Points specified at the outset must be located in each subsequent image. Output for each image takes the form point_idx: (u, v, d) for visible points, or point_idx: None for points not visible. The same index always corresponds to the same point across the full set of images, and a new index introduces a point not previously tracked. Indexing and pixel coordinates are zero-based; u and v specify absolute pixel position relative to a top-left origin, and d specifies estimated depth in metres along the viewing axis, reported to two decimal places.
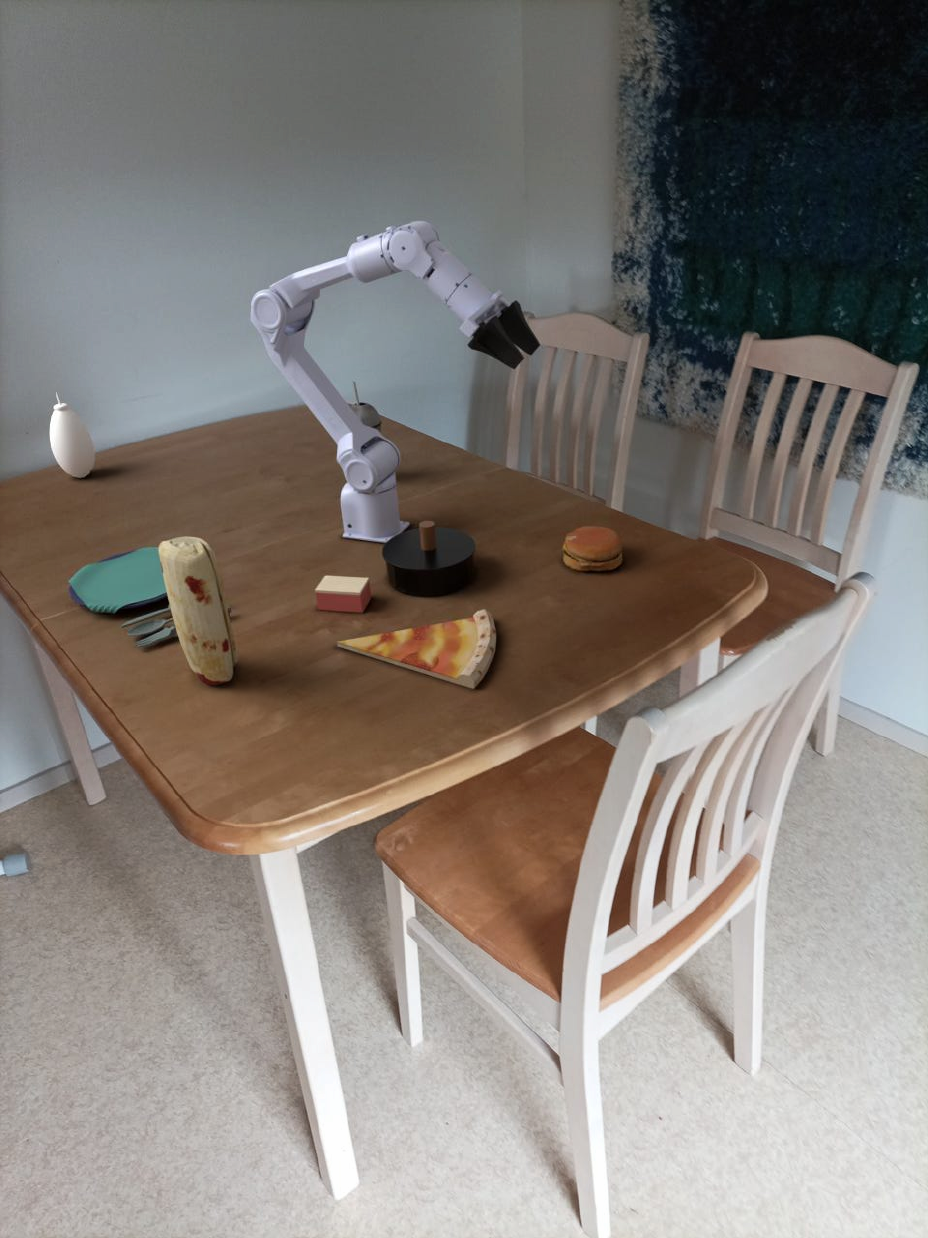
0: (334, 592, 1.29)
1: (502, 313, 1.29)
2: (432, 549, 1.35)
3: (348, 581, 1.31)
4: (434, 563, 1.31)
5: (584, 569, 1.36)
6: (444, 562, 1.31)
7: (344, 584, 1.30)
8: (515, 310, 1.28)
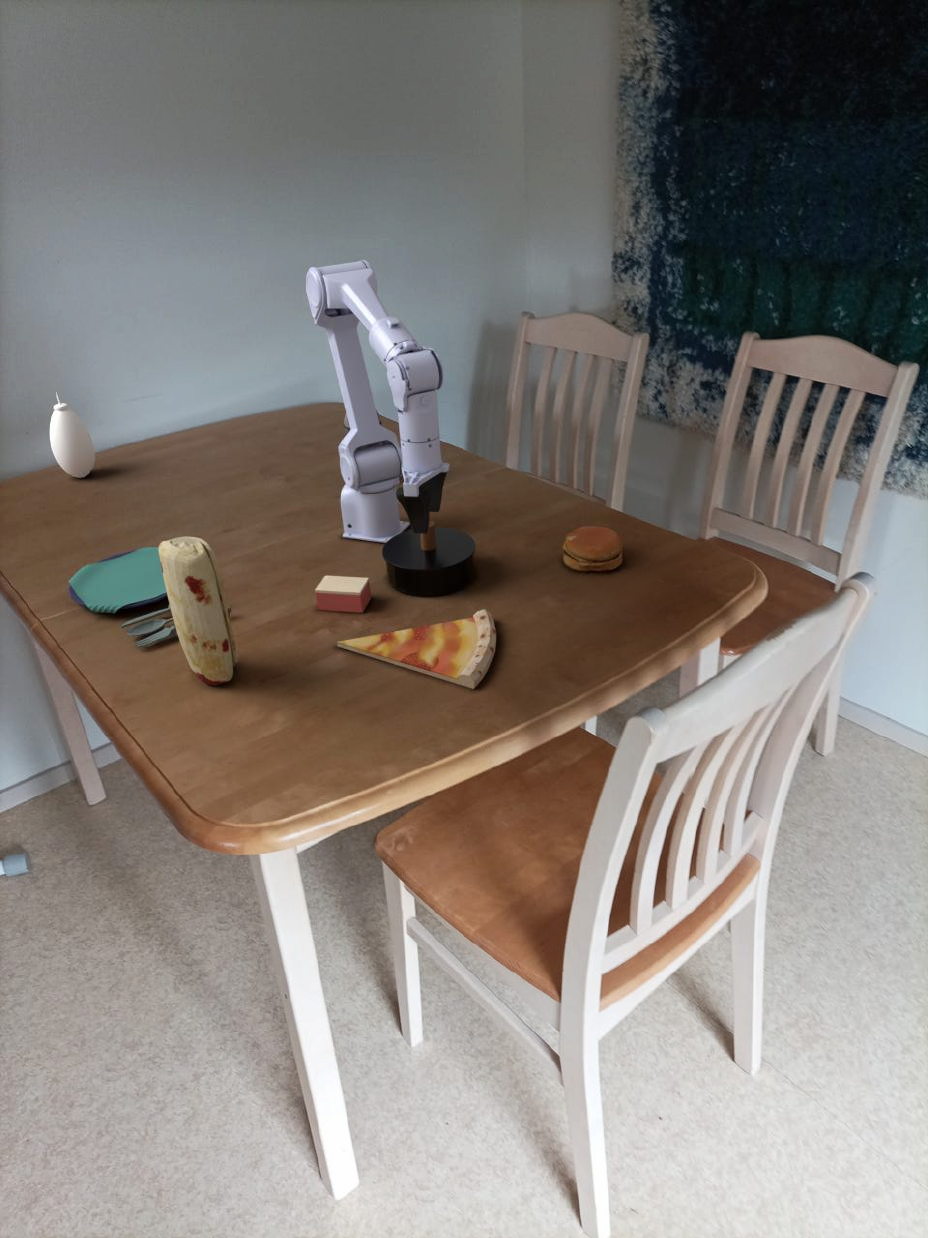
0: (334, 592, 1.29)
1: None
2: (432, 549, 1.35)
3: (348, 581, 1.31)
4: (434, 563, 1.31)
5: (584, 569, 1.36)
6: (444, 562, 1.31)
7: (344, 584, 1.30)
8: (443, 475, 1.33)
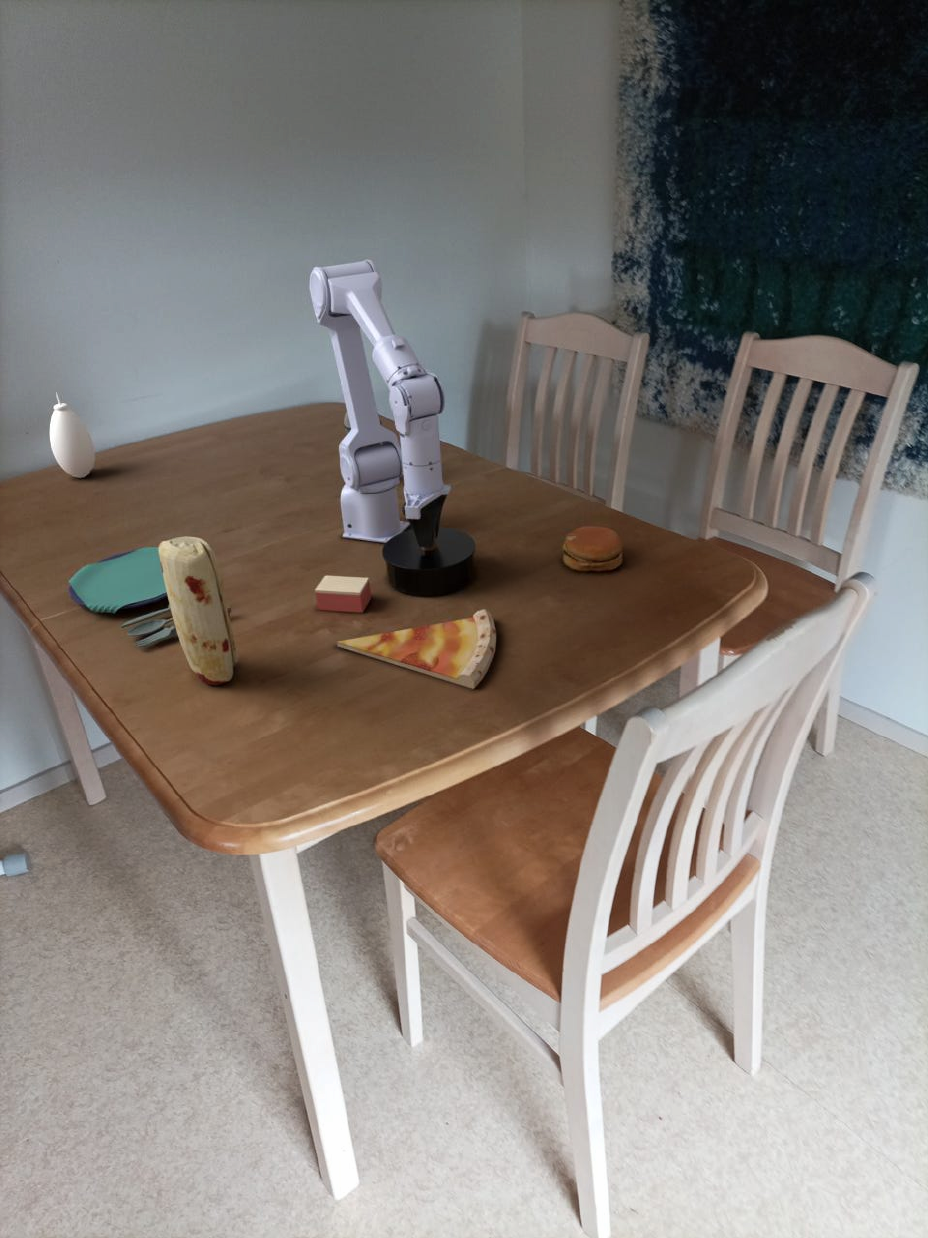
0: (334, 592, 1.29)
1: None
2: (432, 549, 1.35)
3: (348, 581, 1.31)
4: (434, 562, 1.31)
5: (584, 569, 1.36)
6: (444, 562, 1.31)
7: (344, 584, 1.30)
8: (441, 503, 1.33)
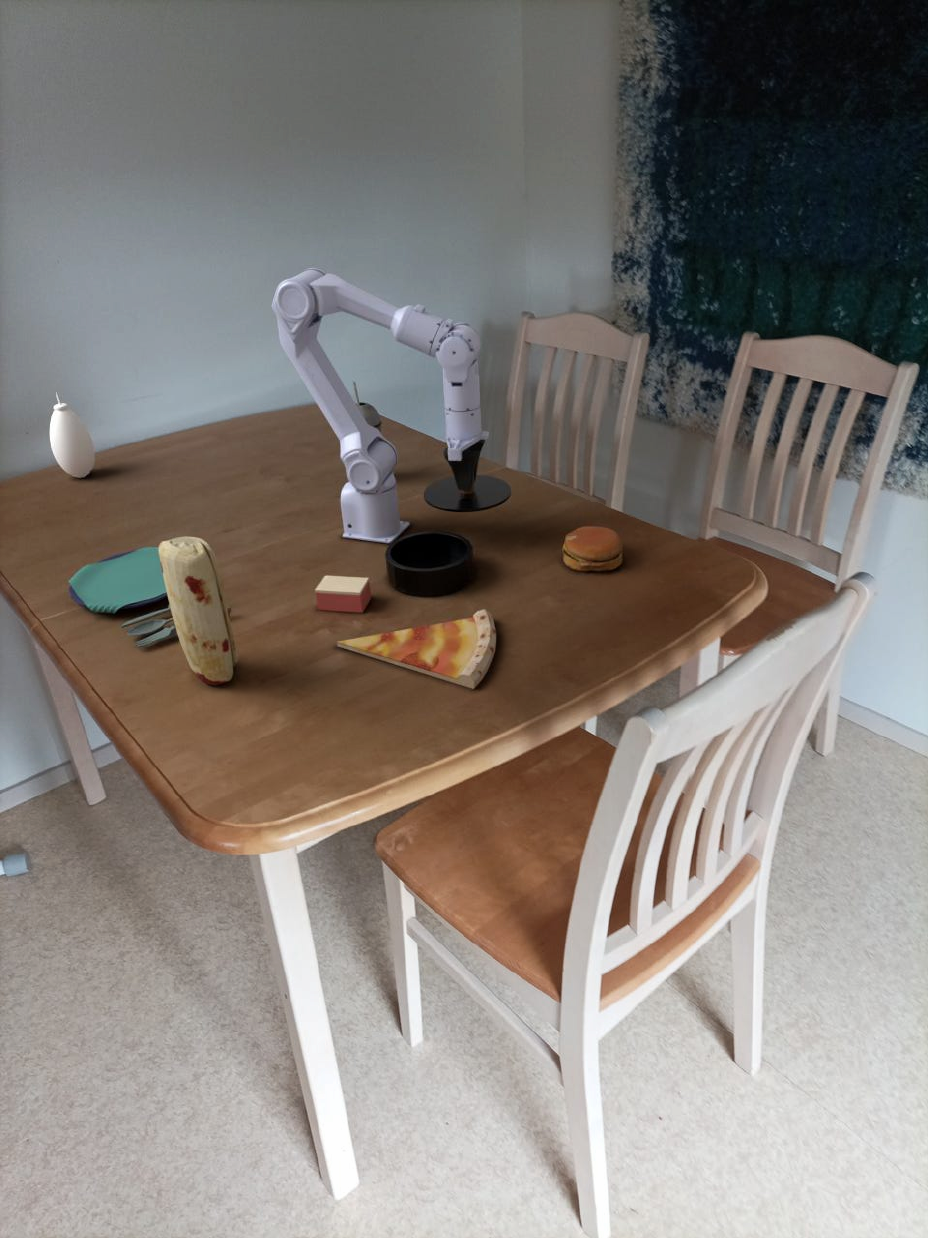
0: (334, 592, 1.29)
1: None
2: (471, 492, 1.44)
3: (348, 581, 1.31)
4: (474, 504, 1.41)
5: (584, 569, 1.36)
6: (483, 503, 1.41)
7: (344, 584, 1.30)
8: (479, 449, 1.42)
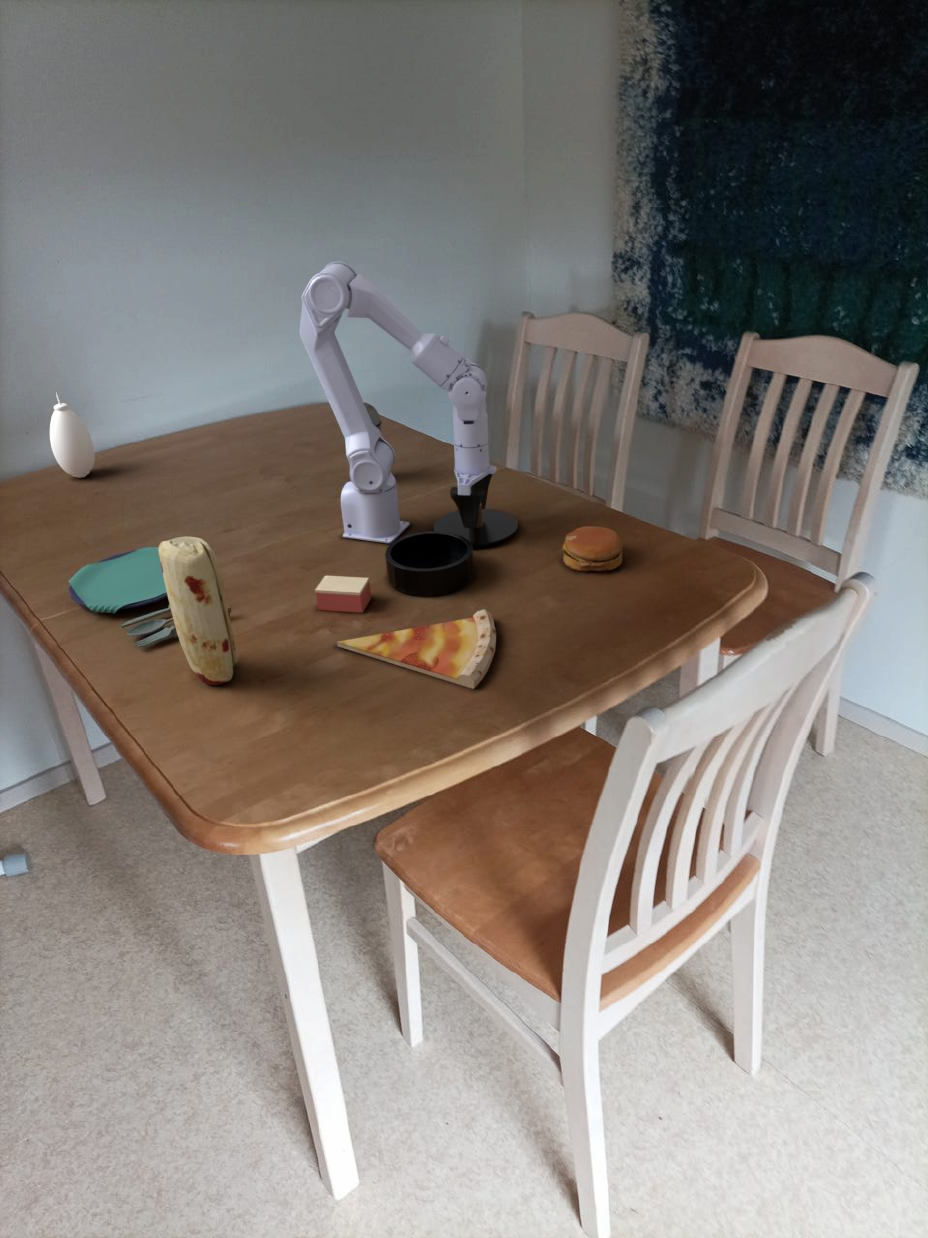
0: (334, 592, 1.29)
1: None
2: (479, 527, 1.50)
3: (348, 581, 1.31)
4: (482, 538, 1.46)
5: (584, 569, 1.36)
6: (491, 538, 1.46)
7: (344, 584, 1.30)
8: (490, 477, 1.50)
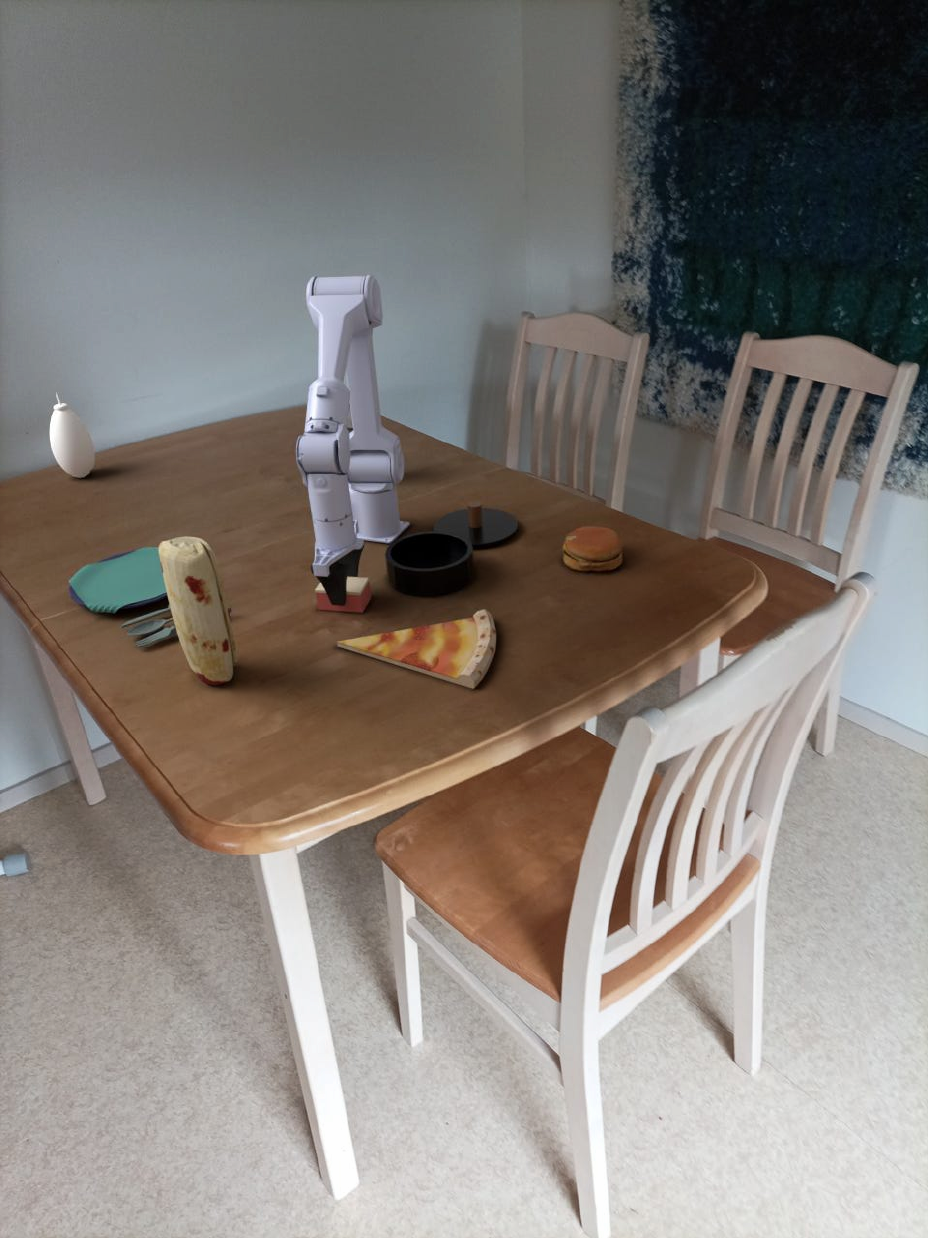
0: None
1: None
2: (479, 527, 1.50)
3: (348, 581, 1.31)
4: (482, 538, 1.46)
5: (584, 569, 1.36)
6: (491, 538, 1.46)
7: None
8: (358, 553, 1.30)
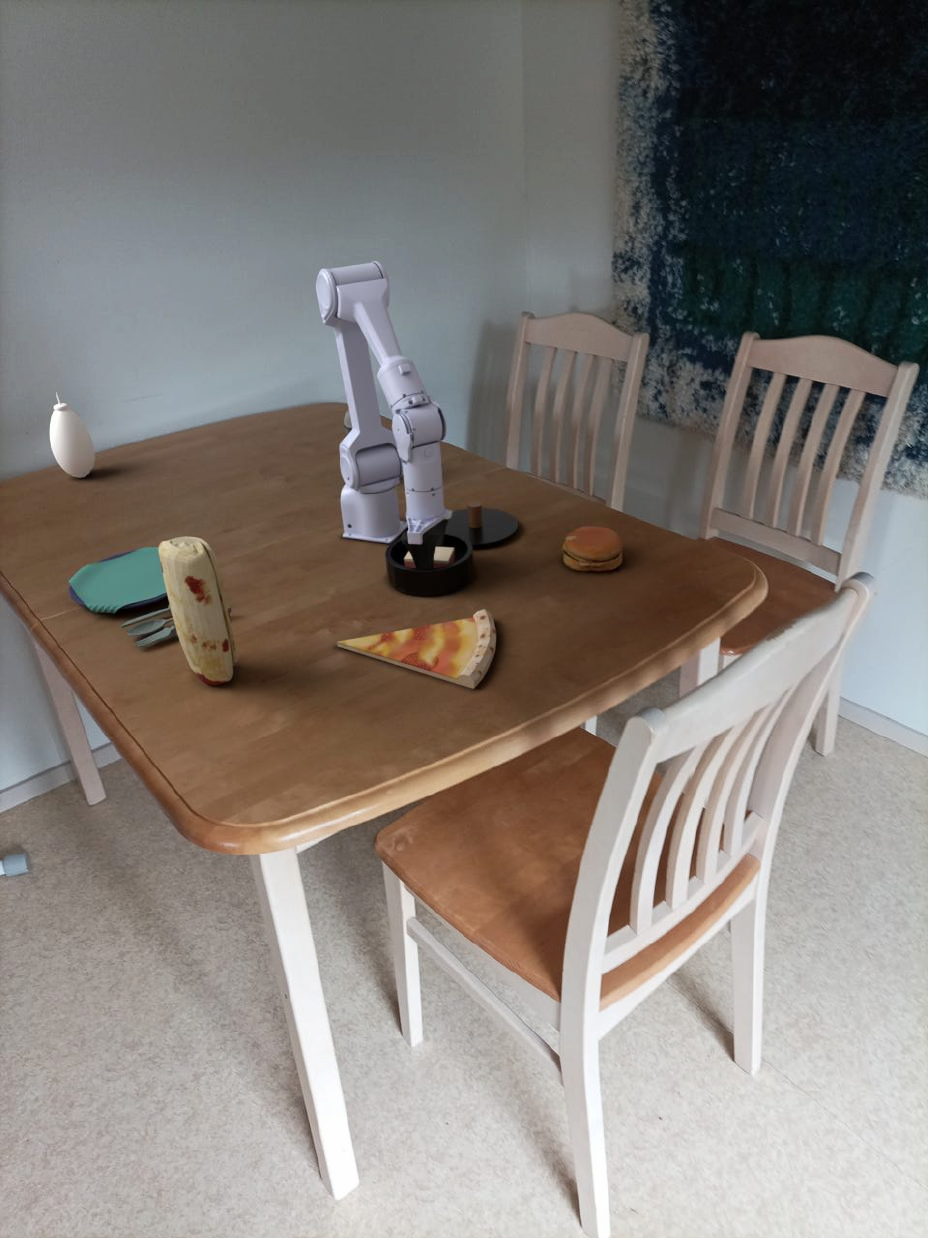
0: None
1: None
2: (479, 527, 1.50)
3: None
4: (482, 538, 1.46)
5: (584, 569, 1.36)
6: (491, 538, 1.46)
7: None
8: (445, 522, 1.36)
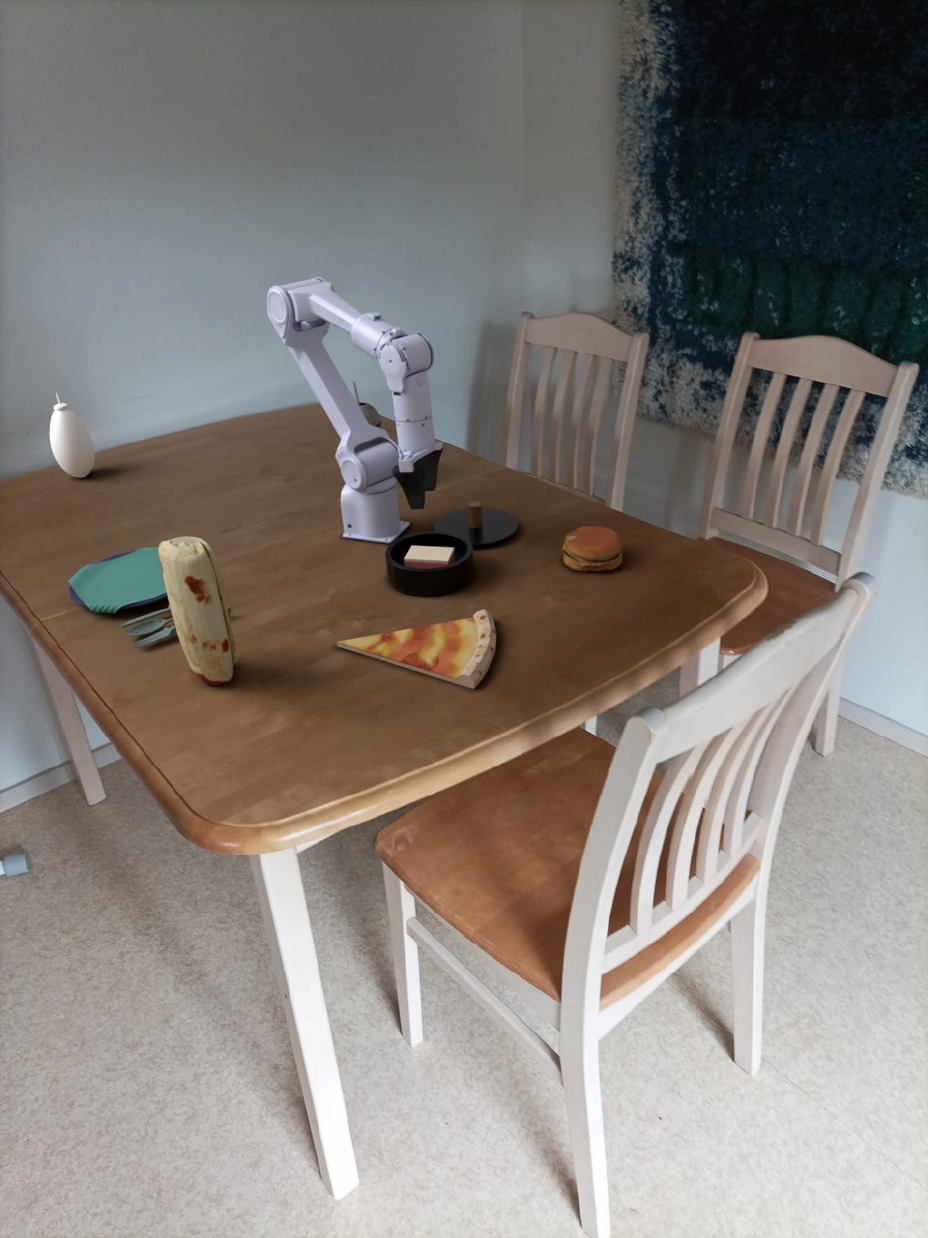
0: (423, 560, 1.35)
1: None
2: (479, 527, 1.50)
3: (434, 550, 1.37)
4: (482, 538, 1.46)
5: (584, 569, 1.36)
6: (491, 538, 1.46)
7: (431, 553, 1.36)
8: (438, 455, 1.41)
